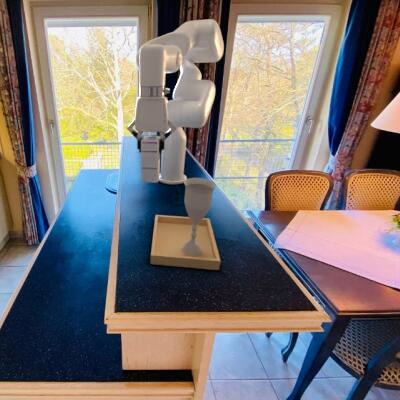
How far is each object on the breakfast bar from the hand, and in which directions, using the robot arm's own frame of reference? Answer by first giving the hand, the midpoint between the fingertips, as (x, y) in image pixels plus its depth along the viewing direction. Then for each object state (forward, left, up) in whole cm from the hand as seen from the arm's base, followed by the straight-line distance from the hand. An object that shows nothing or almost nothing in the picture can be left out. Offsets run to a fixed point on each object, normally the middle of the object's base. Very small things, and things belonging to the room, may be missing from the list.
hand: (150, 151), depth 87 cm
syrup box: (0, 0, -10) cm, 10 cm away
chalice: (+29, +13, -17) cm, 36 cm away
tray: (+26, +11, -18) cm, 33 cm away
